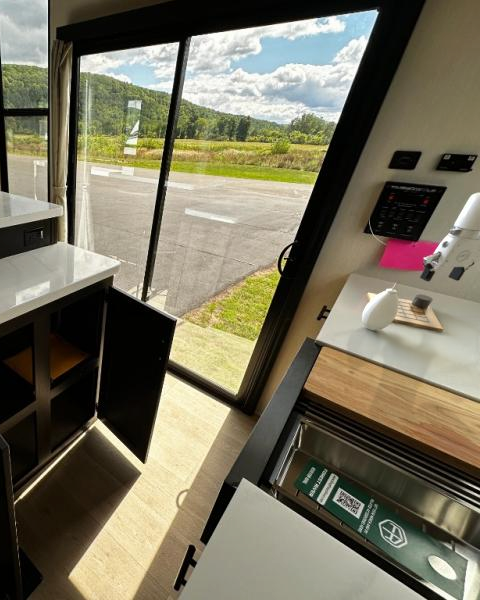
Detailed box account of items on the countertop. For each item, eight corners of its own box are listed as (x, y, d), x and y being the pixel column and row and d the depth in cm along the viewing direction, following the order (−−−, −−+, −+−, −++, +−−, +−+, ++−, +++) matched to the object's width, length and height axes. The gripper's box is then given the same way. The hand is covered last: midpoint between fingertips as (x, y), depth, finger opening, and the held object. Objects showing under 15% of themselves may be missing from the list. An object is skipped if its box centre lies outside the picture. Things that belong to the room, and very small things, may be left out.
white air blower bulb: (357, 331, 108) (382, 285, 98) (354, 319, 114) (378, 275, 104) (387, 338, 105) (416, 291, 95) (382, 325, 110) (409, 280, 101)
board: (426, 306, 119) (428, 303, 118) (441, 332, 106) (443, 329, 106) (366, 295, 127) (368, 292, 127) (373, 317, 114) (375, 314, 114)
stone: (425, 303, 118) (431, 296, 117) (429, 309, 115) (434, 301, 113) (410, 300, 120) (415, 293, 119) (413, 306, 117) (418, 298, 115)
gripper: (450, 237, 100) (423, 285, 109) (508, 235, 99) (475, 283, 108) (428, 229, 106) (404, 275, 115) (482, 227, 106) (453, 273, 114)
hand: (438, 279), depth 111 cm, fingers open, 9 cm apart
